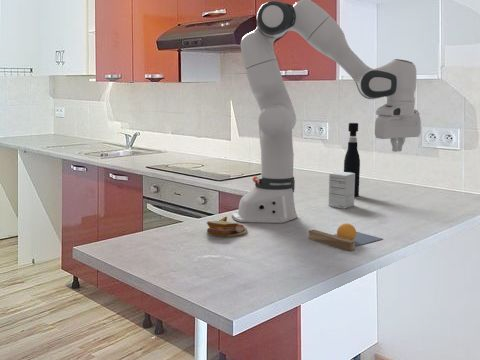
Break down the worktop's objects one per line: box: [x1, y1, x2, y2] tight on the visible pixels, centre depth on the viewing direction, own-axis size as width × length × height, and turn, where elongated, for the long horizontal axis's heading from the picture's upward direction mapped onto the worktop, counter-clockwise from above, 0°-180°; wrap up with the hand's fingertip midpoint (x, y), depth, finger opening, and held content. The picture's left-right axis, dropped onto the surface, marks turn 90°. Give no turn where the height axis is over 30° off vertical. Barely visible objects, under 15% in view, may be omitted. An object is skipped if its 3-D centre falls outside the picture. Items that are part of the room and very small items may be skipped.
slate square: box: [333, 231, 383, 247], centre depth 167 cm, size 12×12×1 cm
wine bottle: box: [343, 122, 361, 198], centre depth 227 cm, size 6×6×30 cm
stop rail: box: [308, 229, 356, 252], centre depth 160 cm, size 2×16×2 cm, turn 38°
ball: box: [336, 222, 357, 240], centre depth 162 cm, size 6×6×6 cm
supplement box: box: [328, 170, 355, 209], centre depth 210 cm, size 7×7×13 cm
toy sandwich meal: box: [206, 216, 248, 238], centre depth 172 cm, size 12×14×5 cm
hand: (396, 151), depth 186 cm, fingers closed
